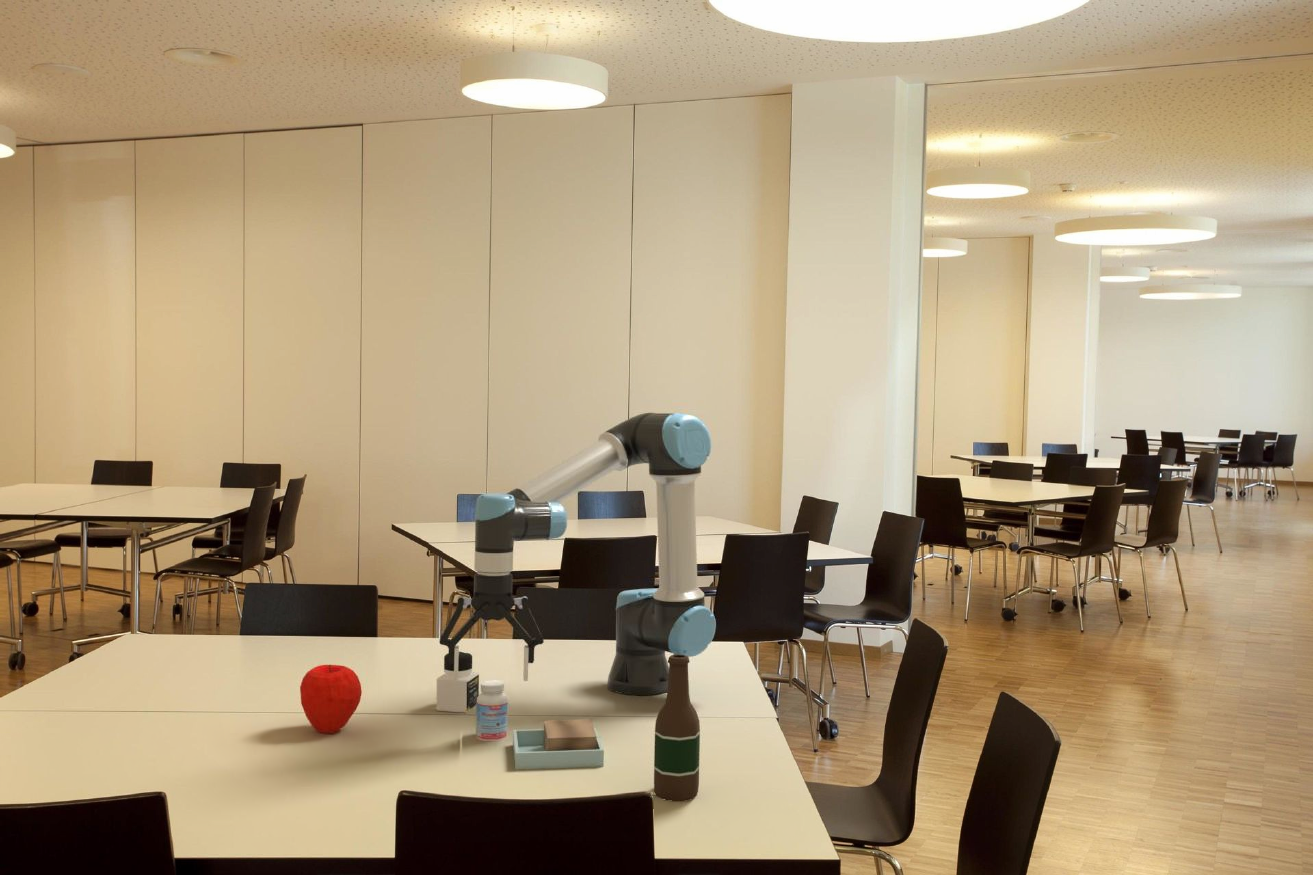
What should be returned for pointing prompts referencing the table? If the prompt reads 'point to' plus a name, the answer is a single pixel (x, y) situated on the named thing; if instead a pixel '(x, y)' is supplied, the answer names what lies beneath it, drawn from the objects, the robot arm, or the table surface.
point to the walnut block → (569, 735)
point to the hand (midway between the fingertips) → (490, 679)
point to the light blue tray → (551, 753)
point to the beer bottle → (677, 738)
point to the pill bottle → (491, 712)
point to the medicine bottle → (458, 686)
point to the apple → (330, 697)
